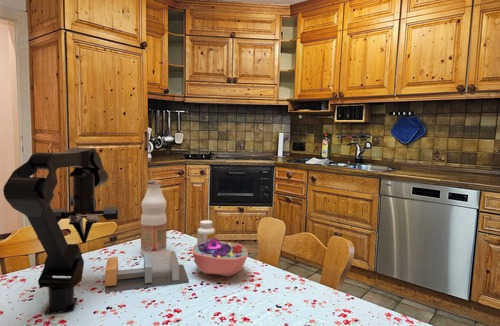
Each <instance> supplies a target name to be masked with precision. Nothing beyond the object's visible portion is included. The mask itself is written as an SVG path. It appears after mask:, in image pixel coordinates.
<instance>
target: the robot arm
mask: <svg viewBox="0 0 500 326" xmlns="http://www.w3.org/2000/svg"><path fill="white" fill-rule="evenodd" d="M68 167H69V168H73V170H72V171H71V172H70V173H69V177H70V178H72V195H71V196H70V207H72V211H66V208H64V207H62V208H52V207H51V203H52V201H53V198H54V196H55V194H54V191H55V188H56V187H57V185H58V177H57V170H58V169H61V168H62V169H63V168H68ZM38 170H39V171H40V170H42V171H43V170H45V171H47V170H48V173H47V176H46V177H40V176H39V177H38V176H37V177H35V176H33V175H34V174H36V173H37V171H38ZM32 176H33V177H32ZM108 179H109V174H108V172H107V171H106V170H105V169H104V165H103V162H102V160H101V157H100V154H99V152H97V149H96V148H95V147H70V148H68V149H66V151H62V152H61V151H59V152H33V153H32V154H31V155H30V157H29V158H28V159H27V161H26V162H25V163H23V164H21V165H20V166H18V168H16V169H14V170H13V171H12V172H11V174H10V176H9V178H8V180H7V181H6V182H5V183H4V186H3V191H2V192H3V196H4V198H5V200H6V202H7V203H8V204H9V205H10V206H11V208H13V209H14V210H16V211H17V212H19V213H21V214H23V215H25V216H26V218H27V219H28V222H29V224H30V225H31V228H32V229H33V231H34V233H35V234H36V237H37V239H38V240H39V242H40V244H41V246H42V249H43V250H44V252H45V253H46V258H45V259H44V262H43V269H42V271H41V273H40V276H39V277H38V280H37V283H38V286H39V288H48V289H47V290H48V291H47V292H48V293H47V295H48V304H47V306H46V308H45V310H44V315H51V314H58V313H65V312H72V311H74V309H75V306H76V304H77V301H78V297H75V296H74V294H75V293H74V292H75V291H74V290H75V289H74V288H75V287H76V286H77V285H78V284H79V283H81V282H82V280H83V273H84V267H85V266H84V265H85V261H84V257H83V252H81V249H80V246H79V245H78V244H77V243H76V244H75V243H74V244H73V243H68V242H67V240H66V238H65V235H64V233H63V231H62V228H61V226H60V224H59V222H60V221H61V220H62V219H69V221H68V225H72V226H73V228H74V229H75V231H76V232H77V234H78V236H79V238H80V240H81V243H82V244H86V243H87V241H88V237H89V234H90V231H91V228H92V226H93V225H94V224H97V223H98V221H99V217H103V219H105V221H111V220H112V221H113V220H118V219H119V214H120V213H119V211H120V209H119V207H118V206H105V207H104V208H103V209H97V199H96V197H95V196H96V193H95V192H96V191H95V190H96V189H95V188H97V187H99V186H103V185H105V184H106V183H107V182H108ZM84 218H86V220H85V225H84Z"/></svg>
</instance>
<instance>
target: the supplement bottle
mask: <svg viewBox="0 0 500 326" xmlns="http://www.w3.org/2000/svg"><path fill="white" fill-rule="evenodd" d="M199 222H200V223H199V225H200V227H199V228H197V237H196V238H197V242H196V243H197V244H199V243H202V242H205V241H207V240H208V239H211V238H216V230H215V228H214V227H213V224H214V223H213V221H212V220H209V219H207V220H206V219H205V220H200V221H199ZM197 244H196V245H197Z"/></svg>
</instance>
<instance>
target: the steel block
mask: <svg viewBox="0 0 500 326" xmlns="http://www.w3.org/2000/svg"><path fill="white" fill-rule="evenodd" d="M170 251H171V250H168V249H167V250H166V251H156V252H151V263H152V278H157V277H166V276H171V252H170Z"/></svg>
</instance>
